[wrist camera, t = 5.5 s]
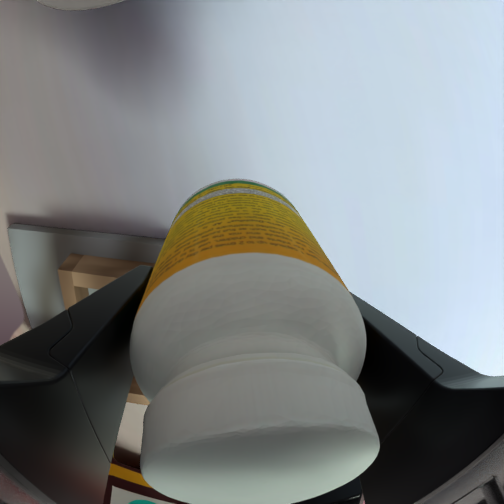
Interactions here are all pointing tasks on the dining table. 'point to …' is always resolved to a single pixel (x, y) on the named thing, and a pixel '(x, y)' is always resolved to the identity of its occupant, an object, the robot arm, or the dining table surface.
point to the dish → (77, 4)
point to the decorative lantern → (131, 487)
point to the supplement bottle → (249, 357)
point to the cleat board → (73, 269)
